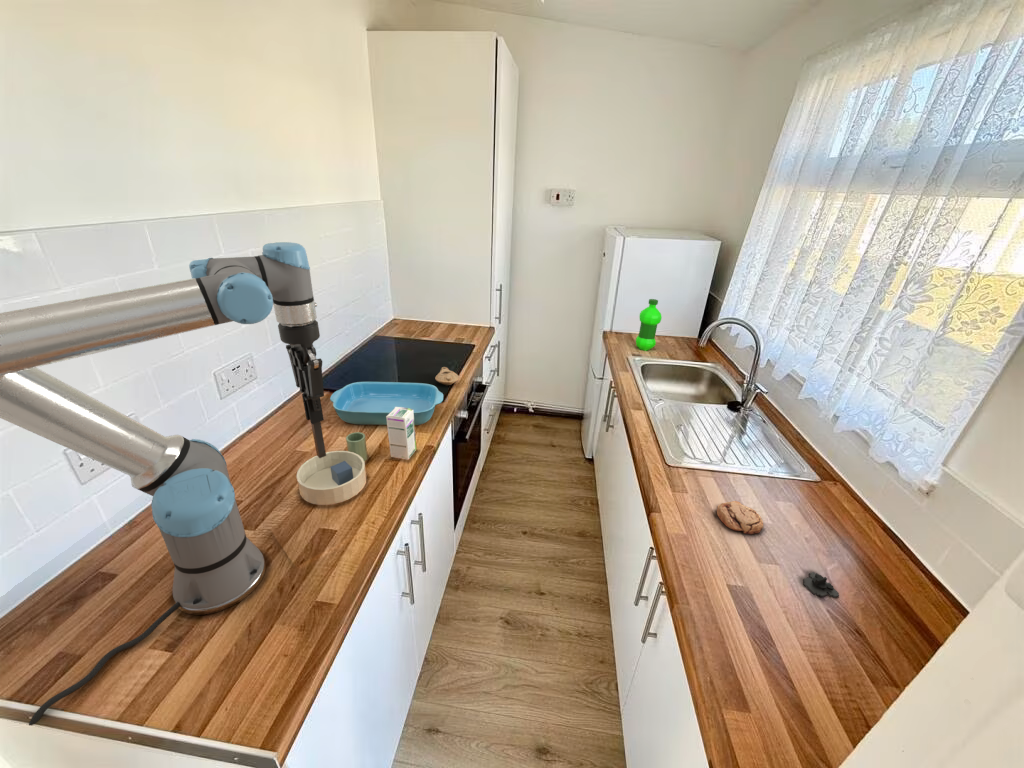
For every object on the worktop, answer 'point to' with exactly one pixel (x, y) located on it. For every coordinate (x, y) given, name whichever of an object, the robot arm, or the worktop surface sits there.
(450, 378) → the pottery oil lamp
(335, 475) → the block
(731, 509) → the cookie
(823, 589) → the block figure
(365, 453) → the utensil pot
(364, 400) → the casserole dish
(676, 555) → the worktop surface
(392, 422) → the syrup box
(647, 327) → the plastic bottle
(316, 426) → the chopstick
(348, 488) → the bowl
